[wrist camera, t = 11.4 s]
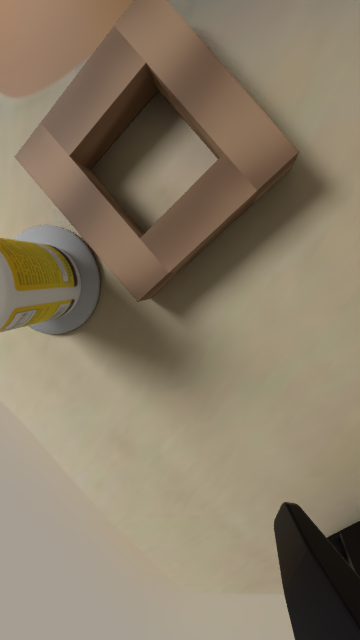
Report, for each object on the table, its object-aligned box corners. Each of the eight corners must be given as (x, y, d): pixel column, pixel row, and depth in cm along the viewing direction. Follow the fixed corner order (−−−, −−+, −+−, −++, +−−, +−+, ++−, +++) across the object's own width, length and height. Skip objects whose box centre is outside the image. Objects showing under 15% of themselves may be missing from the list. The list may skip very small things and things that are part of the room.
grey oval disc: (121, 286, 21) (119, 286, 21) (52, 353, 23) (49, 354, 23) (50, 201, 21) (46, 200, 21) (-13, 276, 23) (-17, 276, 23)
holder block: (291, 168, 18) (299, 151, 15) (149, 298, 21) (137, 301, 18) (161, 20, 18) (148, -21, 15) (40, 170, 21) (14, 156, 18)
